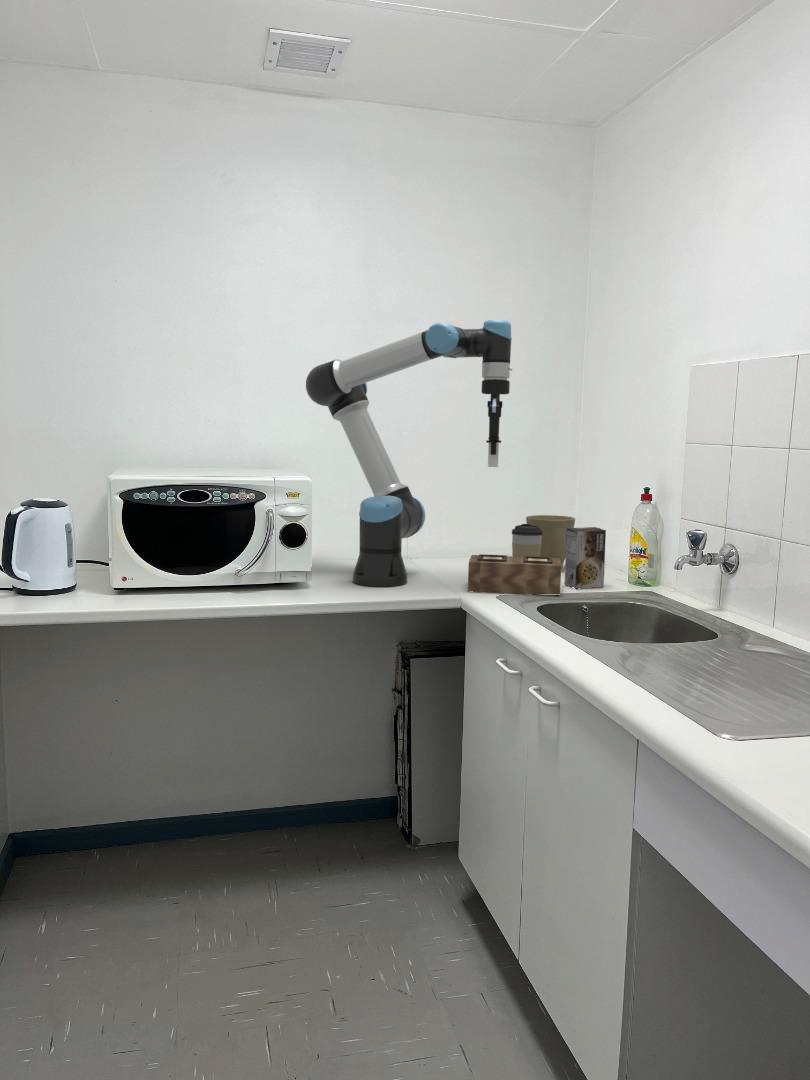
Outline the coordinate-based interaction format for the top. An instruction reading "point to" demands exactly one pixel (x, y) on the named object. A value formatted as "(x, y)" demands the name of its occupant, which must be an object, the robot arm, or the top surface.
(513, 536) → the coffee cup
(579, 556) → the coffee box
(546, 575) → the walnut block
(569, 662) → the top surface
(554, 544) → the plant pot
